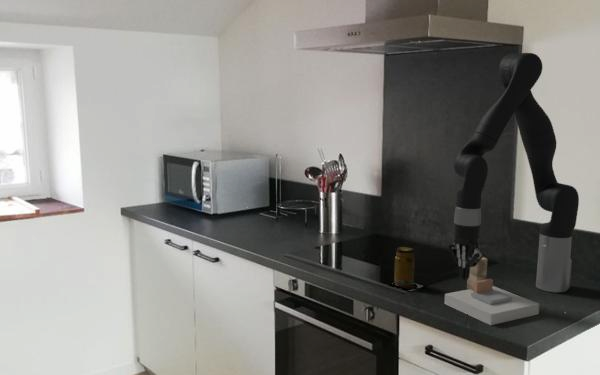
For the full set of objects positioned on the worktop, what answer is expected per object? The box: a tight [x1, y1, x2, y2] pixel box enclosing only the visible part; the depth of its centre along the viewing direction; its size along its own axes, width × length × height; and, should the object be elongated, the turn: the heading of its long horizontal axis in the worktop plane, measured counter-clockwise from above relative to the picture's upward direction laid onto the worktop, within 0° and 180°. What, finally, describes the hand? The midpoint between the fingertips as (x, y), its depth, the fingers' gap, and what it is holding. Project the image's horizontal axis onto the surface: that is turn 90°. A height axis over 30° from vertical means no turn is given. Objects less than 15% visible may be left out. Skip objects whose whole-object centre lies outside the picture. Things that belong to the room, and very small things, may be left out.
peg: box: [466, 256, 488, 290], centre depth 186 cm, size 4×4×10 cm
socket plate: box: [444, 285, 540, 326], centre depth 170 cm, size 18×18×3 cm
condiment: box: [393, 246, 424, 292], centre depth 188 cm, size 7×8×12 cm
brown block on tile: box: [471, 278, 512, 304], centre depth 169 cm, size 8×8×4 cm
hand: (463, 278), depth 178 cm, fingers closed
